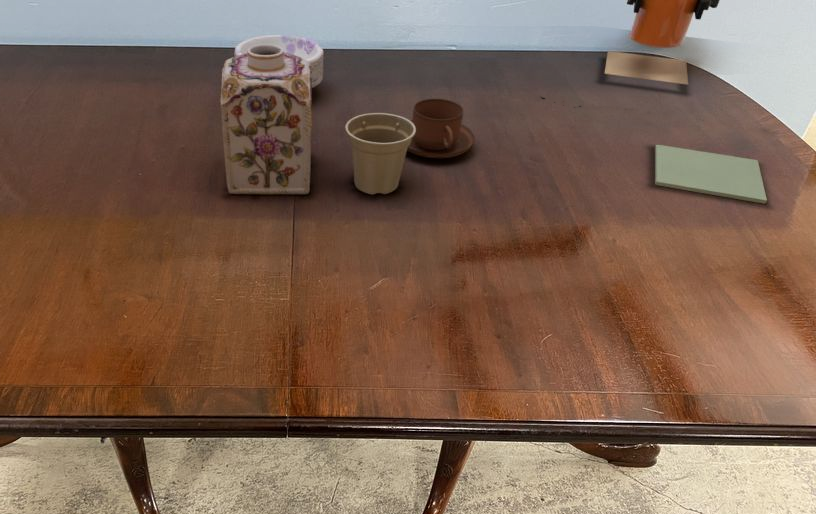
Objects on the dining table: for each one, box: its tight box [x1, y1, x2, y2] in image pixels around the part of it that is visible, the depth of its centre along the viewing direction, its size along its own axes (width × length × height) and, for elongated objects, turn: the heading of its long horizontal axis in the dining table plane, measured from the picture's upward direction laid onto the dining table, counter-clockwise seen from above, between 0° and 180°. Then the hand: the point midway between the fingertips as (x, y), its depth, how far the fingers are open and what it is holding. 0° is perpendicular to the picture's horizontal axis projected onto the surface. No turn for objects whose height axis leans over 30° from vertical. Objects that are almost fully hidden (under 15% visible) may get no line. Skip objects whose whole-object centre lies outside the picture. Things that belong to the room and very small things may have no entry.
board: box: [604, 50, 689, 85], centre depth 124 cm, size 14×12×2 cm
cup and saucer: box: [406, 98, 476, 159], centre depth 101 cm, size 12×12×6 cm
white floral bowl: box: [233, 34, 325, 89], centre depth 116 cm, size 15×15×8 cm
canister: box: [629, 0, 699, 48], centre depth 116 cm, size 9×9×12 cm
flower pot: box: [344, 112, 416, 195], centre depth 92 cm, size 9×9×9 cm
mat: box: [654, 144, 768, 205], centre depth 97 cm, size 14×12×1 cm
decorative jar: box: [218, 44, 314, 195], centre depth 91 cm, size 12×12×18 cm
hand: (669, 7), depth 112 cm, fingers closed on canister, 9 cm apart
